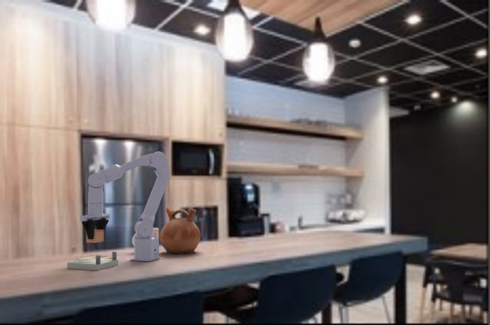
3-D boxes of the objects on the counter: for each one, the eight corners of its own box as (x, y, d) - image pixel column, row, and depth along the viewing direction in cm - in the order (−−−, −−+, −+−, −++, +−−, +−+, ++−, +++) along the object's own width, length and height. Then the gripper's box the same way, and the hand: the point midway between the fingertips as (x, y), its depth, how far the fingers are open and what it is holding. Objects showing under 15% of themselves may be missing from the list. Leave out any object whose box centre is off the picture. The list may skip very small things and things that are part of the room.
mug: (133, 253, 185) (133, 230, 186) (130, 251, 193) (130, 228, 193) (160, 251, 191) (160, 228, 191) (155, 249, 198) (155, 227, 199)
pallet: (116, 259, 169) (116, 256, 169) (100, 263, 160) (101, 260, 161) (92, 258, 173) (92, 255, 173) (76, 262, 165) (76, 258, 165)
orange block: (103, 241, 164) (103, 229, 165) (95, 242, 160) (95, 230, 160) (94, 240, 166) (94, 229, 166) (86, 242, 162) (86, 230, 162)
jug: (150, 254, 183) (151, 208, 184) (173, 248, 199) (173, 206, 201) (187, 256, 176) (187, 208, 177) (207, 250, 192) (207, 206, 194)
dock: (118, 264, 158) (118, 251, 158) (98, 270, 147) (98, 256, 148) (88, 263, 163) (88, 250, 163) (67, 268, 152) (67, 254, 153)
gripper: (100, 202, 172) (99, 236, 171) (74, 204, 159) (73, 240, 158) (114, 202, 169) (114, 236, 169) (88, 204, 156) (88, 241, 155)
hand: (95, 238), depth 163 cm, fingers closed on orange block, 4 cm apart
